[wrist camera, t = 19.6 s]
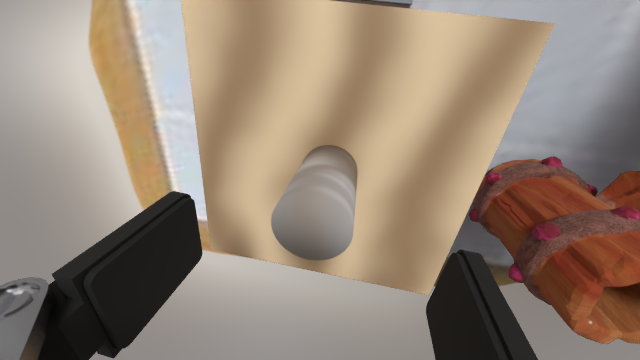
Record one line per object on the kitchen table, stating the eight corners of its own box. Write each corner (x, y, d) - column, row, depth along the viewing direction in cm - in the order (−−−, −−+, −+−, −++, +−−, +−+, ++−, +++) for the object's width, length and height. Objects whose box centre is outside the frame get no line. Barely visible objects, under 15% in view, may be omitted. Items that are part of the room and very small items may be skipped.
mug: (468, 229, 29) (557, 380, 15) (449, 169, 26) (538, 288, 13) (633, 188, 24) (974, 356, 10) (632, 109, 21) (1092, 199, 8)
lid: (540, 25, 12) (731, -8, 6) (426, 284, 20) (452, 386, 14) (190, -11, 14) (45, -67, 7) (217, 241, 22) (158, 314, 16)
